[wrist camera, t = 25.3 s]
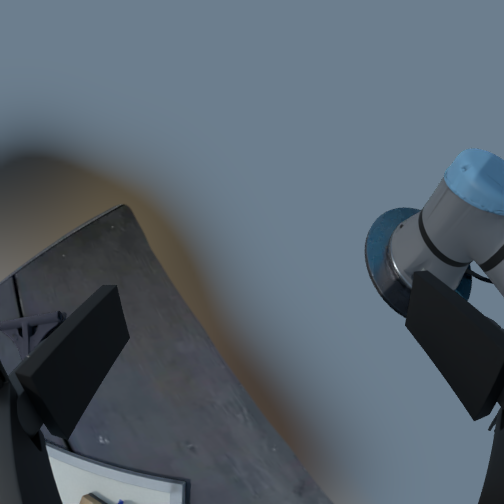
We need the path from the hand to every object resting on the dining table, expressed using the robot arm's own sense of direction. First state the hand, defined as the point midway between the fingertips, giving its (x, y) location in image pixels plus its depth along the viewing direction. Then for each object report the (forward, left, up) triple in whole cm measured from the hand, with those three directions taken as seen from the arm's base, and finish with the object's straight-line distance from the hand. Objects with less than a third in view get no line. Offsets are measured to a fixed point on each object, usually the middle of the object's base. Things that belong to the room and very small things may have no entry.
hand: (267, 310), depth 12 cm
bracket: (+35, +3, -28) cm, 45 cm away
